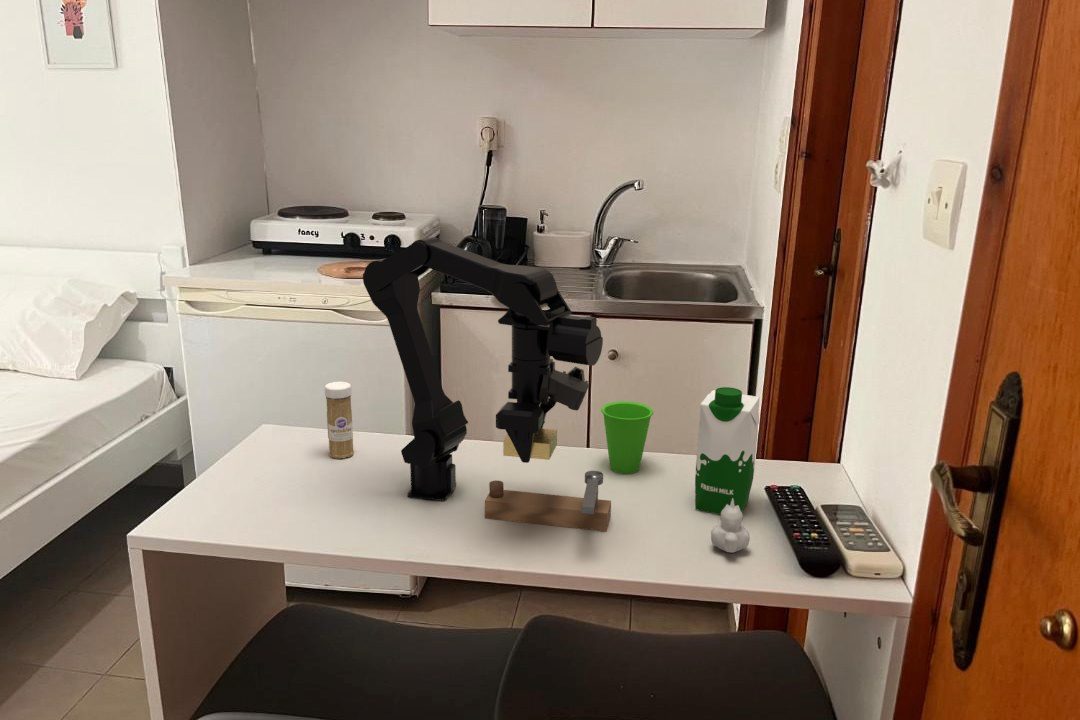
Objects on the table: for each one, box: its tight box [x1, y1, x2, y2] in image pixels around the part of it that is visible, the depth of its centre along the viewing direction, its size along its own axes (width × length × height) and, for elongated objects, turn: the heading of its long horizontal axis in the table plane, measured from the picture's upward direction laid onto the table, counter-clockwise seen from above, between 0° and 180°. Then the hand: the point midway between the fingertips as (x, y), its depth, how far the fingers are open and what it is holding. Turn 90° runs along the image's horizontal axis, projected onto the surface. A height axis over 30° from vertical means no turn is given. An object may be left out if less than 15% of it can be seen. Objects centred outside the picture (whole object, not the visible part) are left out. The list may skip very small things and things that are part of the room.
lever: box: [582, 470, 604, 514], centre depth 124 cm, size 12×3×1 cm, turn 172°
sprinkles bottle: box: [324, 381, 355, 459], centre depth 153 cm, size 5×5×14 cm
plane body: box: [484, 480, 612, 532], centre depth 131 cm, size 19×4×7 cm, turn 78°
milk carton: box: [694, 386, 760, 516], centre depth 134 cm, size 9×9×20 cm
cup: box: [600, 401, 654, 475], centre depth 149 cm, size 9×9×11 cm
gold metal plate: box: [502, 428, 558, 461], centre depth 129 cm, size 7×6×2 cm
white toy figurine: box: [710, 499, 751, 553], centre depth 121 cm, size 5×7×8 cm
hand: (530, 454), depth 129 cm, fingers closed on gold metal plate, 6 cm apart
